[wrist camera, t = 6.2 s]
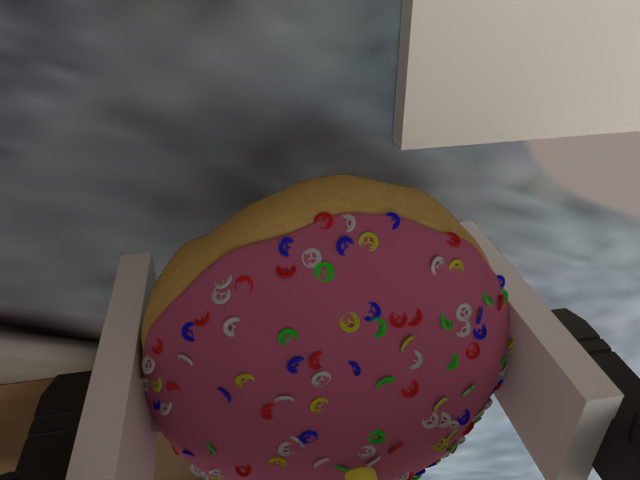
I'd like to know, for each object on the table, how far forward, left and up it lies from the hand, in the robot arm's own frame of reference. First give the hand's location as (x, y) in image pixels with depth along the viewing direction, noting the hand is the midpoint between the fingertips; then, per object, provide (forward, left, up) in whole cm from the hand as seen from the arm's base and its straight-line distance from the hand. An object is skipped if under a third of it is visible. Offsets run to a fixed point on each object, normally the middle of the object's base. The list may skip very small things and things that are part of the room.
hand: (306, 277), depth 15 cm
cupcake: (0, 0, -1) cm, 1 cm away
